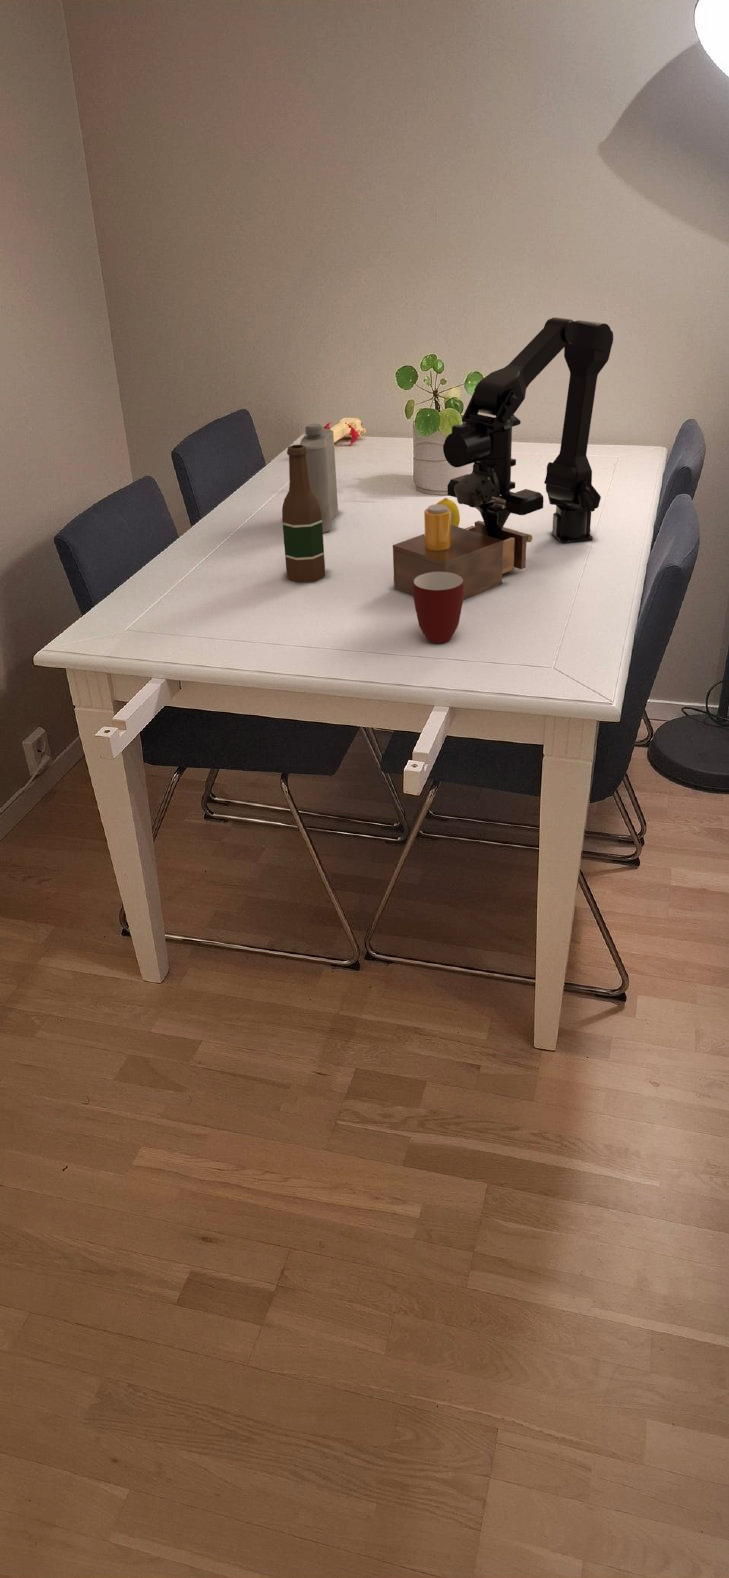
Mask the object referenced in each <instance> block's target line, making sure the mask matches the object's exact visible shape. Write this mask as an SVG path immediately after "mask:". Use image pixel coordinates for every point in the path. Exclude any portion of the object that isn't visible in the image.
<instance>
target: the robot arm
mask: <svg viewBox="0 0 729 1578" xmlns="http://www.w3.org/2000/svg"><path fill="white" fill-rule="evenodd" d="M613 343H614V332H613V330H612V329H611V327H610V325H609V324H608V323H604V322H598V321H597V322H596V321H589V320H579V319H577V320H573V319H571V318H565V317H564V318H563V317H555V316H554V317H551V318H548V319H547V320H546V321H545V323H544V326H543V328H542V329H541V330H540V331H539V332H538V333H537V334H536V335H535V336H534V337H533V338H532V339H531V340H530V341H529V343H527V345H525V347H524V348H523V349H522V350H521V351H520V352H519V353H518V354H517V355H516V356H515V357H514V358H513V359H512V360H511V361H510V362H509V363H508V364H507V365H506V366H504V367H502V368H499V369H497V370H494V371H492V372H490V373H489V374H488V375H486V376H485V377H483V378H482V379H481V380H480V381H478V383H477V384H476V386H475V387H474V389H473V393H472V395H471V397H470V400H469V402H468V404H467V407H466V408H465V410H464V413H463V416H462V417H461V422H462V424H454V425H452V427H451V433H449V434H448V435H447V436H446V437H445V439H444V443H443V444H442V451H443V452H442V453H443V455H444V458H445V460H446V461H447V463H448V464H449V465H450V466H451V467H453V468H462V467H464V466H468V465H471V464H472V471H471V473H470V474H468V473H467V474H463V475H460V476H457V477H453V478H450V480H449V481H448V484H447V496H450V497H453V498H455V499H456V500H457V503H458V504H459V505H465V506H468V507H470V508H475V509H476V510H477V511H479V513H480V515H481V518H482V520H483V521H482V522H484V524H485V527H486V530H487V533H488V536H490V537H493V538H496V539H497V538H498V536H499V534H500V532H501V530H502V528H503V527H505V524H506V522H507V520H508V518H509V516H510V515H511V514H513V515H518V516H525V515H528V514H532V513H533V512H537V511H539V510H542V509H544V501H545V500H544V499H545V498H544V495H543V494H542V493H541V492H539V491H535V490H532V489H528V488H525V489H522V490H519V491H515V492H513V491H511V490H514V489H516V481H511V480H512V479H511V478H512V467H514V466H516V465H517V459H515V458H512V451H513V449H512V448H513V446H512V445H513V428H514V427H516V426H520V425H521V420H520V419H519V417H517V416H516V415H515V413H516V412H517V411H518V409H519V408H520V406H521V405H522V404H523V402H524V400H525V399H526V394H527V389H528V387H529V386H530V384H531V383H532V382H533V381H534V380H535V379H536V378H537V377H538V376H539V375H540V374H541V373H542V371H543V370H544V369H545V368H546V367H547V366H548V365H549V364H551V362H552V361H553V360H554V359H555V358H556V357H557V356H558V355H559V354H560V352H562V350H563V356H564V360H565V363H566V365H567V368H568V370H569V371H568V372H569V379H568V380H569V381H568V389H567V396H566V402H565V411H564V419H563V426H562V433H561V434H562V435H561V442H560V448H559V453H558V455H557V456H556V458H555V459H554V460H553V461H552V462H551V461H549V462H548V463H547V465H546V473H545V474H546V475H545V478H544V482H543V484H544V485H545V492H546V493H547V497H548V502H549V505H551V506H552V505H553V506H555V512H554V513H553V514H552V528H551V529H552V530H551V534H552V535H553V536H554V537H555V538H556V539H557V540H558V541H559V542H560V543H563V544H564V543H574V542H585V541H592V540H593V539H594V537H593V536H592V534H591V524H592V512H595V511H596V509H598V508H599V506H600V502H601V499H602V496H601V494H600V493H599V492H598V491H597V490H596V488H595V486H594V485H593V479H592V478H593V469H592V467H591V464H590V461H589V459H588V456H587V454H588V453H587V452H588V445H589V437H590V431H591V423H592V419H593V418H592V416H593V409H594V402H595V397H596V388H597V383H598V382H597V381H598V376H599V374H600V372H601V371H602V370H603V368H604V367H605V366H606V364H607V363H608V361H609V360H610V355H611V351H612V347H613ZM484 414H485V415H484ZM489 415H490V416H489ZM493 416H494V417H493Z"/></svg>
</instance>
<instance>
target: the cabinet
mask: <svg viewBox="0 0 729 1578" xmlns="http://www.w3.org/2000/svg"><path fill="white" fill-rule="evenodd" d="M392 567H393V589H394V590H397V591H399V592H403V593H405V594H408V595H411V596H413V580H414V579H415V578H416V577H417V576H419V575H422V574H425V573H430V572H449V573H454V574H457V575H459V576H461V577H462V578H463V581H464V597H463V601H465V600H468V599H470V598H472V597H475V596H477V595H480V594H483V593H484V592H486V591H489V590H491V589H495V588H496V587H498V586H501V585H503V574H502V568H503V540H500V539H496V538H493V537H490V536H487V535H483V534H480V533H477V532H473V531H470V530H467V529H465V528H463V527H460V526H458V527H457V526H453V525H451V547H450V548H449V549H446V550H441V551H433V550H428V549H426V548H425V533H423V534H420V535H417V536H415V537H412V538H409V539H405V540H403V541H400V542H397V543H395V544H392Z"/></svg>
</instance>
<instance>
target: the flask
mask: <svg viewBox="0 0 729 1578" xmlns="http://www.w3.org/2000/svg"><path fill="white" fill-rule="evenodd" d="M323 427H324V425H321V424H320V423H310V424H307V425H306V426H305V427H304V428H305V430H304V431H305V435H303V437H302V438H301V440H300V443H299V445H304V446H306V449H307V454H306V461H307V469H308V477H309V483H310V487H311V490H312V492H313V493H314V494H315V496H316V497H317V499H318V501H319V504H320V508H321V515H322V529H323V534H325V533H328V532H330V531H331V530H332V529H333V527H332V521H333V519H334V518H335V517H336V516H337V515H338V514H339V501H338V487H337V469H336V468H337V467H336V452H335V451H336V450H335V443H334V434H333V431H332V430H330V429H331V428H330V429H324V428H323Z"/></svg>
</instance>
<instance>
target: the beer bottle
mask: <svg viewBox="0 0 729 1578" xmlns="http://www.w3.org/2000/svg"><path fill="white" fill-rule="evenodd" d="M286 454H287V456H288V472H289V474H288V475H289V476H288V477H289V483H288V484H289V485H288V486H289V487H288V492H287V493H286V496H285V497H284V499H283V503H282V507H281V516H282V517H281V521H282V533H283V534H282V535H283V536H282V537H283V546H284V547H283V548H284V558H285V569H286V575H287V579H288V580H289V581H293V582H296V583H313V582H317V581H319V580H321V579H323V578H325V576H326V561H325V550H324V549H325V548H324V533H323V529H322V515H321V508H320V504H319V501H318V499H317V497H316V496H315V494H314V493H313V492H312V490H311V487H310V483H309V477H308V469H307V461H306V454H307V449H306V446H304V445H300V444H291V445H290V446H287V450H286Z"/></svg>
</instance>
